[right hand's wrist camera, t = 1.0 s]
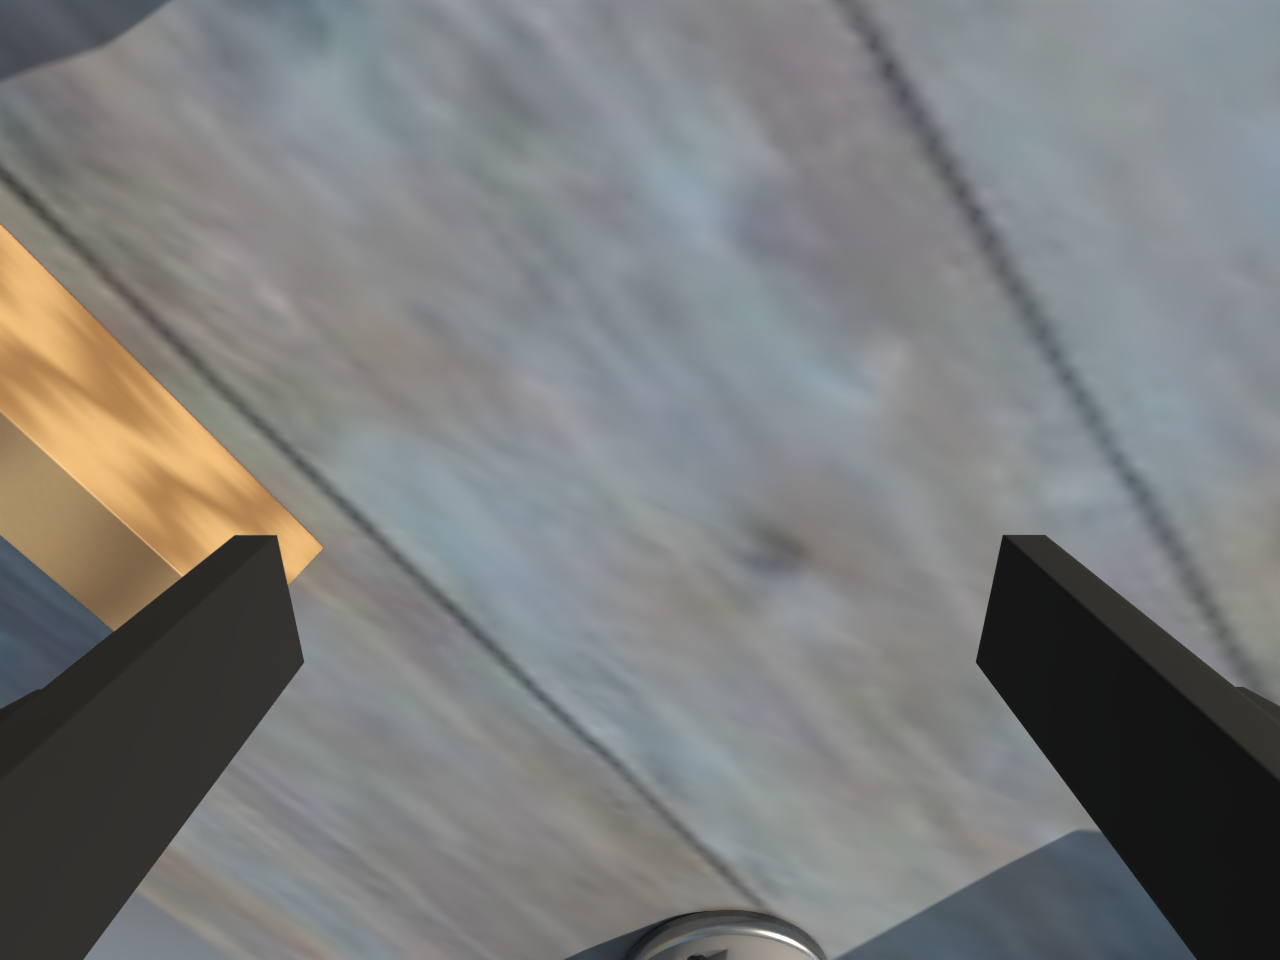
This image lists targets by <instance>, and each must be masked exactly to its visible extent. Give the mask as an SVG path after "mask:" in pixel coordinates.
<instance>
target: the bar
mask: <svg viewBox="0 0 1280 960" xmlns="http://www.w3.org/2000/svg"><path fill="white" fill-rule="evenodd" d="M234 535H277V537H278V542H279V546H280V551H281V556H282V560H283V565H284V570H285V575H286V579H287V584H288V585H289V584H290V583H291V582H292V581H293V580H294V579H295V578H296V577H297V576H298V575H299V574H300V573H301V572H302V571H303V569H304V568H305V567H306V566H307V565H308V564H309V563H310V562H311V561H312V560H313V559H314V558H315V557H316V556H317V555H318V554H319V552H320V551H321V550H322V549H323V547H322V546H321V545H320V544H319V543H318V542H317V541H316V540H315V539H314V538H313V537H312V536H311V535H310V534H309V533H308V532H307V531H306V530H305V529H304V528H303V527H302V526H301V525H300V524H299V523H298V522H297V521H296V520H295V519H294V518H293V517H292V516H291V515H290V514H289V513H288V512H287V511H286V510H285V509H284V508H283V507H282V506H281V505H280V504H279V503H278V502H277V501H276V500H275V499H274V498H273V497H272V496H271V495H270V494H269V493H268V492H267V491H266V490H265V489H264V488H263V487H262V486H261V485H260V484H259V483H258V482H257V481H256V480H255V479H254V478H253V477H252V476H251V475H250V474H249V473H248V472H247V471H246V470H245V469H244V468H243V467H242V466H241V465H240V464H239V463H238V462H237V461H236V460H235V459H234V458H233V457H232V456H231V455H230V454H229V453H228V452H227V451H226V450H225V449H224V448H223V447H222V446H221V445H220V444H219V443H218V442H217V441H216V440H215V439H214V438H213V437H212V436H211V435H210V434H209V433H208V432H207V431H206V430H205V429H204V428H203V427H202V426H201V425H200V424H199V423H198V422H197V421H196V420H195V419H194V418H193V417H192V416H191V415H190V414H189V413H188V412H187V411H186V410H185V409H184V408H183V407H182V406H181V405H180V404H179V403H178V402H177V401H176V400H175V399H174V398H173V397H172V396H171V395H170V394H169V393H168V392H167V391H166V390H165V389H164V388H163V387H162V386H161V385H160V384H159V383H158V382H157V381H156V380H155V379H154V378H153V377H152V376H151V375H150V374H149V373H148V372H147V371H146V370H145V369H144V368H143V367H142V366H141V365H140V364H139V363H138V362H137V361H136V360H135V359H134V358H133V357H132V356H131V355H130V354H129V353H128V352H127V351H126V350H125V349H124V348H123V347H122V346H121V345H120V344H119V343H118V342H117V341H116V340H115V339H114V338H113V337H112V336H111V335H110V334H109V333H108V332H107V331H106V330H105V329H104V328H103V327H102V326H101V325H100V324H99V323H98V322H97V321H96V320H95V319H94V318H93V317H92V316H91V315H90V314H89V313H88V312H87V311H86V310H85V309H84V308H83V307H82V306H81V305H80V304H79V303H78V302H77V301H76V300H75V299H74V298H73V297H72V296H71V295H70V294H69V293H68V292H67V291H66V290H65V289H64V288H63V287H62V286H61V285H60V284H59V283H58V282H57V281H56V280H55V279H54V278H53V277H52V276H51V275H50V274H49V273H48V272H47V271H46V270H45V269H44V268H43V267H42V266H41V265H40V264H39V263H38V262H37V261H36V260H35V259H34V258H33V257H32V256H31V255H30V254H29V253H28V252H27V251H26V250H25V249H24V248H23V247H22V246H21V245H20V244H19V243H18V242H17V241H16V240H15V239H14V238H13V237H12V236H11V235H10V234H9V233H8V232H7V231H6V230H5V229H4V228H3V227H2V226H1V225H0V536H1V537H3V538H4V539H5V540H6V541H7V542H9V543H10V544H11V545H12V546H13V547H14V548H16V549H17V550H18V551H19V552H20V553H22V554H23V555H24V556H25V557H26V558H27V559H29V560H30V561H31V562H32V563H33V564H35V565H36V566H37V567H38V568H39V569H40V570H42V571H43V572H44V573H45V574H46V575H48V576H49V577H50V578H51V579H52V580H53V581H55V582H56V583H57V584H58V585H59V586H61V587H62V588H63V589H64V590H65V591H66V592H68V593H69V594H70V595H71V596H72V597H74V598H75V599H76V600H77V601H78V602H79V603H81V604H82V605H83V606H84V607H85V608H87V609H88V610H89V611H90V612H91V613H92V614H94V615H95V616H96V617H97V618H98V619H100V620H101V621H102V622H103V623H104V624H105V625H107V626H108V627H109V628H110V629H111V630H113V631H115V630H117V629H118V628H119V627H120V626H122V625H123V624H124V623H125V622H127V621H128V620H129V619H130V618H132V617H133V616H134V615H135V614H137V613H138V612H139V611H140V610H142V609H143V608H144V607H145V606H147V605H148V604H149V603H150V602H152V601H153V600H154V599H155V598H157V597H158V596H159V595H160V594H162V593H163V592H164V591H165V590H167V589H168V588H169V587H170V586H172V585H173V584H174V583H175V582H177V581H178V580H179V579H180V578H182V577H183V576H184V575H185V574H187V573H188V572H189V571H190V570H192V569H193V568H194V567H195V566H197V565H198V564H199V563H200V562H202V561H203V560H204V559H205V558H207V557H208V556H209V555H210V554H212V553H213V552H214V551H215V550H217V549H218V548H219V547H220V546H222V545H223V544H224V543H225V542H227V541H228V540H229V539H230V538H232V537H233V536H234Z"/></svg>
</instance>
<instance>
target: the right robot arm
mask: <svg viewBox="0 0 1280 960" xmlns="http://www.w3.org/2000/svg"><path fill="white" fill-rule="evenodd" d="M303 663H304V659H303V654H302V650H301V645H300V640H299V636H298V631H297V626H296V622H295V617H294V612H293V607H292V603H291V598H290V593H289V589H288V584H287V579H286V575H285V570H284V565H283V560H282V556H281V551H280V546H279V542H278V537H277V535H234V536H233V537H232V538H230V539H229V540H228V541H227V542H225V543H224V544H223V545H222V546H220V547H219V548H218V549H217V550H215V551H214V552H213V553H212V554H210V555H209V556H208V557H207V558H205V559H204V560H203V561H202V562H200V563H199V564H198V565H197V566H195V567H194V568H193V569H192V570H190V571H189V572H188V573H187V574H185V575H184V576H183V577H182V578H180V579H179V580H178V581H177V582H175V583H174V584H173V585H172V586H170V587H169V588H168V589H167V590H165V591H164V592H163V593H162V594H160V595H159V596H158V597H157V598H155V599H154V600H153V601H152V602H150V603H149V604H148V605H147V606H145V607H144V608H143V609H142V610H140V611H139V612H138V613H137V614H135V615H134V616H133V617H132V618H130V619H129V620H128V621H127V622H125V623H124V624H123V625H122V626H120V627H119V628H118V629H117V630H115V631H114V632H113V633H112V634H110V635H109V636H108V637H107V638H105V639H104V640H103V641H102V642H100V643H99V644H98V645H97V646H95V647H94V648H93V649H92V650H90V651H89V652H88V653H87V654H85V655H84V656H83V657H82V658H80V659H79V660H78V661H77V662H75V663H74V664H73V665H72V666H71V667H69V668H68V669H67V670H66V671H64V672H63V673H62V674H61V675H59V676H58V677H57V678H56V679H54V680H53V681H52V682H51V683H49V684H48V685H47V686H46V687H44V688H43V689H42V690H36V691H34V692H32V693H30V694H28V695H26V696H24V697H22V698H21V699H19V700H17V701H15V702H13V703H11V704H9V705H7V706H6V707H4V708H2V709H0V960H83V959H84V958H85V956H86V955H87V954H88V952H89V951H90V950H91V948H92V947H93V946H94V944H95V943H96V942H97V940H98V939H99V938H100V936H101V935H102V934H103V932H104V931H105V930H106V928H107V927H108V926H109V924H110V923H111V921H112V920H113V919H114V917H115V916H116V915H117V913H118V912H119V911H120V909H121V908H122V907H123V905H124V904H125V903H126V901H127V900H128V899H129V897H130V896H131V895H132V893H133V892H134V891H135V889H136V888H137V887H138V885H139V884H140V882H141V881H142V880H143V878H144V877H145V876H146V874H147V873H148V872H149V870H150V869H151V868H152V866H153V865H154V864H155V862H156V861H157V860H158V858H159V857H160V856H161V854H162V853H163V852H164V850H165V849H166V848H167V846H168V845H169V843H170V842H171V841H172V839H173V838H174V837H175V835H176V834H177V833H178V831H179V830H180V829H181V827H182V826H183V825H184V823H185V822H186V821H187V819H188V818H189V817H190V815H191V814H192V813H193V811H194V810H195V808H196V807H197V806H198V804H199V803H200V802H201V800H202V799H203V798H204V796H205V795H206V794H207V792H208V791H209V790H210V788H211V787H212V786H213V784H214V783H215V782H216V780H217V779H218V778H219V776H220V775H221V774H222V772H223V771H224V769H225V768H226V767H227V765H228V764H229V763H230V761H231V760H232V759H233V757H234V756H235V755H236V753H237V752H238V751H239V749H240V748H241V747H242V745H243V744H244V743H245V741H246V740H247V739H248V737H249V736H250V735H251V733H252V732H253V730H254V729H255V728H256V726H257V725H258V724H259V722H260V721H261V720H262V718H263V717H264V716H265V714H266V713H267V712H268V710H269V709H270V708H271V706H272V705H273V704H274V702H275V701H276V700H277V698H278V697H279V696H280V694H281V693H282V691H283V690H284V689H285V687H286V686H287V685H288V683H289V682H290V681H291V679H292V678H293V677H294V675H295V674H296V673H297V671H298V670H299V669H300V667H301V666H302V665H303ZM976 663H977V665H978V666H979V667H980V669H981V670H982V671H983V673H984V674H985V675H986V677H987V678H988V679H989V681H990V682H991V683H992V685H993V686H994V687H995V689H996V690H997V691H998V693H999V694H1000V696H1001V697H1002V698H1003V700H1004V701H1005V702H1006V704H1007V705H1008V706H1009V708H1010V709H1011V710H1012V712H1013V713H1014V714H1015V716H1016V717H1017V718H1018V720H1019V721H1020V722H1021V724H1022V725H1023V726H1024V728H1025V729H1026V730H1027V732H1028V733H1029V735H1030V736H1031V737H1032V739H1033V740H1034V741H1035V743H1036V744H1037V745H1038V747H1039V748H1040V749H1041V751H1042V752H1043V753H1044V755H1045V756H1046V757H1047V759H1048V760H1049V761H1050V763H1051V764H1052V765H1053V767H1054V768H1055V769H1056V771H1057V772H1058V774H1059V775H1060V776H1061V778H1062V779H1063V780H1064V782H1065V783H1066V784H1067V786H1068V787H1069V788H1070V790H1071V791H1072V792H1073V794H1074V795H1075V796H1076V798H1077V799H1078V800H1079V802H1080V803H1081V804H1082V806H1083V807H1084V808H1085V810H1086V811H1087V813H1088V814H1089V815H1090V817H1091V818H1092V819H1093V821H1094V822H1095V823H1096V825H1097V826H1098V827H1099V829H1100V830H1101V831H1102V833H1103V834H1104V835H1105V837H1106V838H1107V839H1108V841H1109V842H1110V843H1111V845H1112V846H1113V848H1114V849H1115V850H1116V852H1117V853H1118V854H1119V856H1120V857H1121V858H1122V860H1123V861H1124V862H1125V864H1126V865H1127V866H1128V868H1129V869H1130V870H1131V872H1132V873H1133V874H1134V876H1135V877H1136V878H1137V880H1138V881H1139V882H1140V884H1141V885H1142V887H1143V888H1144V889H1145V891H1146V892H1147V893H1148V895H1149V896H1150V897H1151V899H1152V900H1153V901H1154V903H1155V904H1156V905H1157V907H1158V908H1159V909H1160V911H1161V912H1162V913H1163V915H1164V916H1165V917H1166V919H1167V920H1168V921H1169V923H1170V924H1171V926H1172V927H1173V928H1174V930H1175V931H1176V932H1177V934H1178V935H1179V936H1180V938H1181V939H1182V940H1183V942H1184V943H1185V944H1186V946H1187V947H1188V948H1189V950H1190V951H1191V952H1192V954H1193V955H1194V956H1195V958H1196V959H1197V960H1280V706H1278V705H1276V704H1274V703H1273V702H1271V701H1269V700H1267V699H1265V698H1263V697H1261V696H1259V695H1258V694H1256V693H1254V692H1252V691H1250V690H1248V689H1246V688H1244V687H1234V686H1233V685H1232V684H1231V683H1229V682H1228V681H1227V680H1226V679H1224V678H1223V677H1222V676H1221V675H1219V674H1218V673H1217V672H1216V671H1214V670H1213V669H1212V668H1211V667H1209V666H1208V665H1207V664H1206V663H1204V662H1203V661H1202V660H1201V659H1200V658H1198V657H1197V656H1196V655H1195V654H1193V653H1192V652H1191V651H1190V650H1188V649H1187V648H1186V647H1185V646H1183V645H1182V644H1181V643H1180V642H1178V641H1177V640H1176V639H1175V638H1173V637H1172V636H1171V635H1170V634H1168V633H1167V632H1166V631H1165V630H1163V629H1162V628H1161V627H1160V626H1158V625H1157V624H1156V623H1155V622H1153V621H1152V620H1151V619H1150V618H1148V617H1147V616H1146V615H1145V614H1143V613H1142V612H1141V611H1140V610H1138V609H1137V608H1136V607H1135V606H1133V605H1132V604H1131V603H1130V602H1128V601H1127V600H1126V599H1125V598H1123V597H1122V596H1121V595H1120V594H1118V593H1117V592H1116V591H1115V590H1113V589H1112V588H1111V587H1110V586H1108V585H1107V584H1106V583H1105V582H1103V581H1102V580H1101V579H1100V578H1098V577H1097V576H1096V575H1095V574H1093V573H1092V572H1091V571H1090V570H1088V569H1087V568H1086V567H1085V566H1083V565H1082V564H1081V563H1080V562H1078V561H1077V560H1076V559H1075V558H1073V557H1072V556H1071V555H1070V554H1068V553H1067V552H1066V551H1065V550H1063V549H1062V548H1061V547H1060V546H1058V545H1057V544H1056V543H1055V542H1053V541H1052V540H1051V539H1050V538H1048V537H1047V536H1046V535H1003V537H1002V542H1001V546H1000V551H999V556H998V560H997V565H996V570H995V575H994V579H993V584H992V589H991V593H990V598H989V603H988V607H987V612H986V617H985V622H984V626H983V631H982V636H981V640H980V645H979V650H978V654H977V659H976ZM625 960H827V958H826V956H825V954H824V952H823V951H822V949H821V948H820V946H819V945H818V944H817V943H816V942H815V941H814V940H813V939H812V938H811V937H810V936H809V935H808V934H807V933H805V932H804V931H802V930H801V929H799V928H798V927H796V926H794V925H793V924H790V923H788V922H786V921H784V920H781V919H779V918H776V917H773V916H769V915H766V914H762V913H756V912H750V911H741V910H717V911H708V912H702V913H696V914H692V915H688V916H685V917H681V918H678V919H676V920H673V921H671V922H668V923H666V924H664V925H662V926H660V927H658V928H657V929H655V930H653V931H652V932H650V933H649V934H647V935H646V936H645V937H644V938H642V939H641V940H640V941H639V942H638V943H637V944H636V945H635V946H634V947H633V948H632V949H631V951H630V952H629V954H628V955H627V957H626V958H625Z"/></svg>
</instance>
